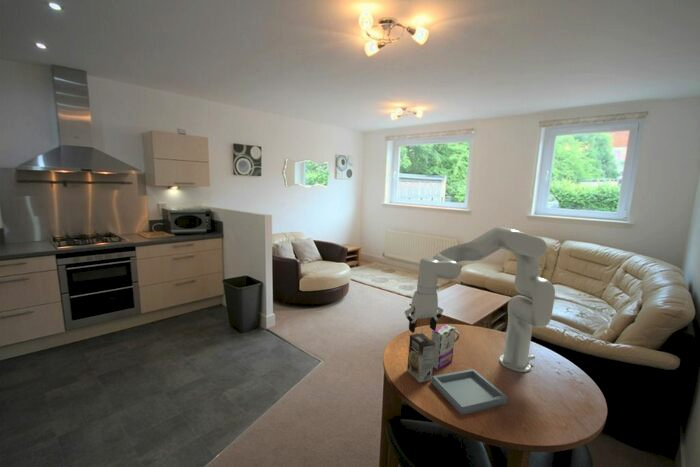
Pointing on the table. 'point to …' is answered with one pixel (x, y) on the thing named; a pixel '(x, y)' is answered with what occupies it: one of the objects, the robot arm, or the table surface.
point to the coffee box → (421, 357)
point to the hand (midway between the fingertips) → (422, 330)
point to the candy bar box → (443, 345)
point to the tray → (468, 391)
